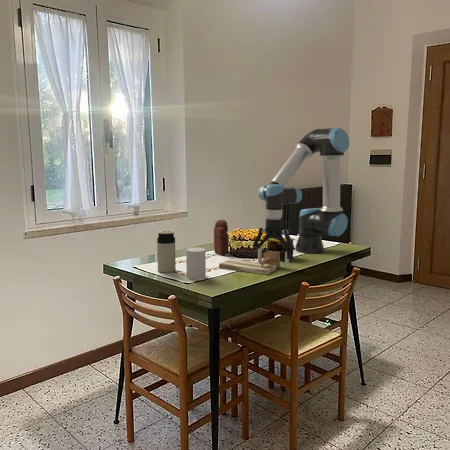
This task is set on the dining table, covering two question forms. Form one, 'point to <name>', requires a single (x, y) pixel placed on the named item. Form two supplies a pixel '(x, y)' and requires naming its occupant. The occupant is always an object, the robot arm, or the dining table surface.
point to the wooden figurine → (221, 238)
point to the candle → (278, 247)
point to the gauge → (271, 258)
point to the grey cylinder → (196, 263)
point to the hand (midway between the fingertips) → (273, 263)
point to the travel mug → (166, 251)
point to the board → (248, 266)
